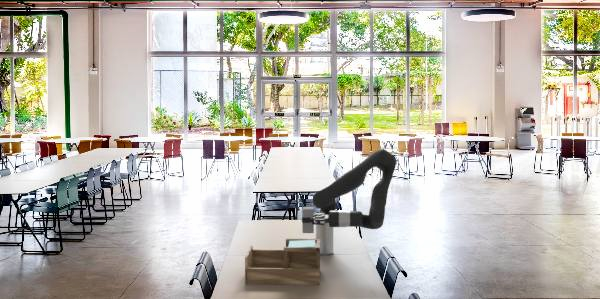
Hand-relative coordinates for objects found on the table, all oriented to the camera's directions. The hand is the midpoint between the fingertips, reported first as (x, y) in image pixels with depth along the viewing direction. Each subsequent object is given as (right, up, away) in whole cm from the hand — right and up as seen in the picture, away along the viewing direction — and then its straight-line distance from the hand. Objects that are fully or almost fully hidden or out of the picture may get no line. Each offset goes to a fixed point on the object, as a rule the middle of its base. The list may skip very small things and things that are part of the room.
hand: (302, 218), depth 274 cm
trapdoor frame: (-8, -27, +4) cm, 29 cm away
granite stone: (+3, -6, +1) cm, 7 cm away
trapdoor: (0, -12, +2) cm, 13 cm away
